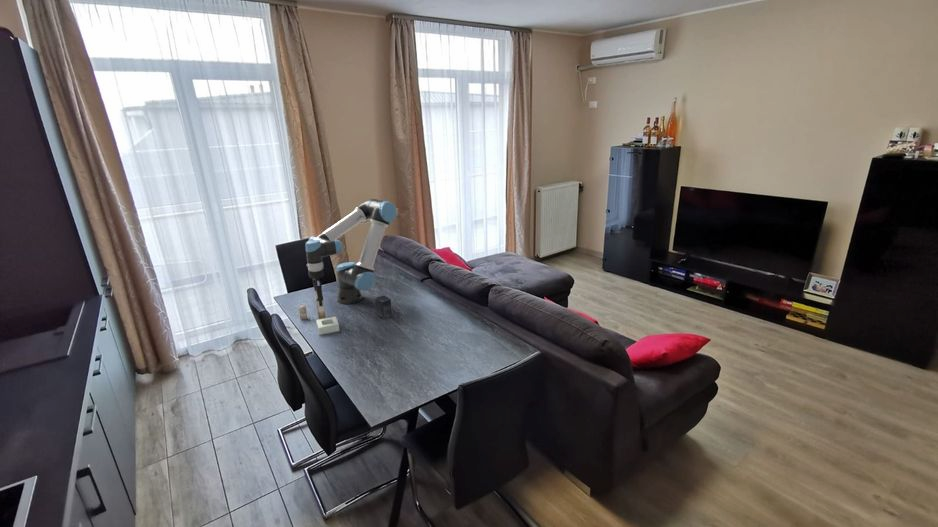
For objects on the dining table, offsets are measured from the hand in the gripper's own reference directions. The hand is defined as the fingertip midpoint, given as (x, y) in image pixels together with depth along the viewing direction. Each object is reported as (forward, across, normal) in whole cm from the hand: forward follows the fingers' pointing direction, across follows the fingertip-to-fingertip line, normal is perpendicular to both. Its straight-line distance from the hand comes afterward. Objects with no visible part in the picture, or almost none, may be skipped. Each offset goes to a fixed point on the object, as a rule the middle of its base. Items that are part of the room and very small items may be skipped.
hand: (319, 306), depth 223 cm
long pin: (+8, 0, 0) cm, 8 cm away
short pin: (+8, -7, -8) cm, 14 cm away
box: (+8, +9, +33) cm, 35 cm away
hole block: (+8, +12, +2) cm, 15 cm away
